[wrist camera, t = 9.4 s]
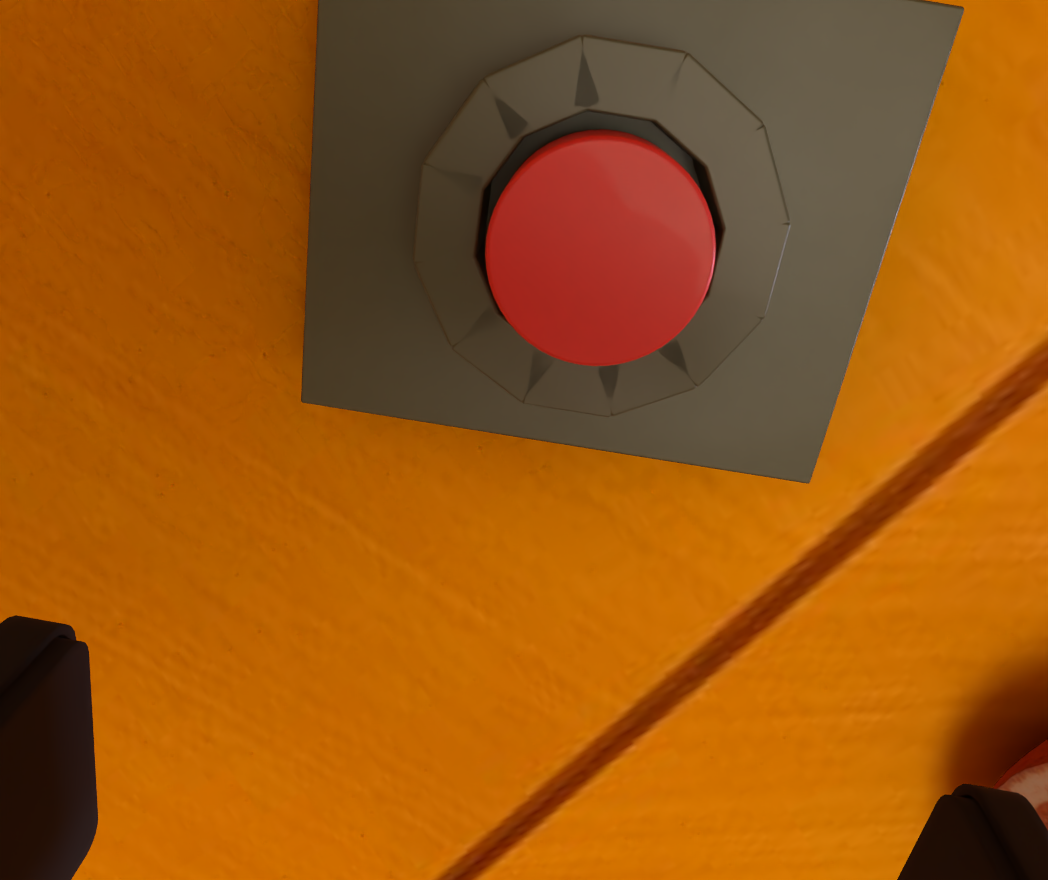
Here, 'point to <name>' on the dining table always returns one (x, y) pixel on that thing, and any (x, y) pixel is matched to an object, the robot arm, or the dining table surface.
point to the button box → (650, 113)
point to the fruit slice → (1030, 779)
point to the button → (600, 248)
